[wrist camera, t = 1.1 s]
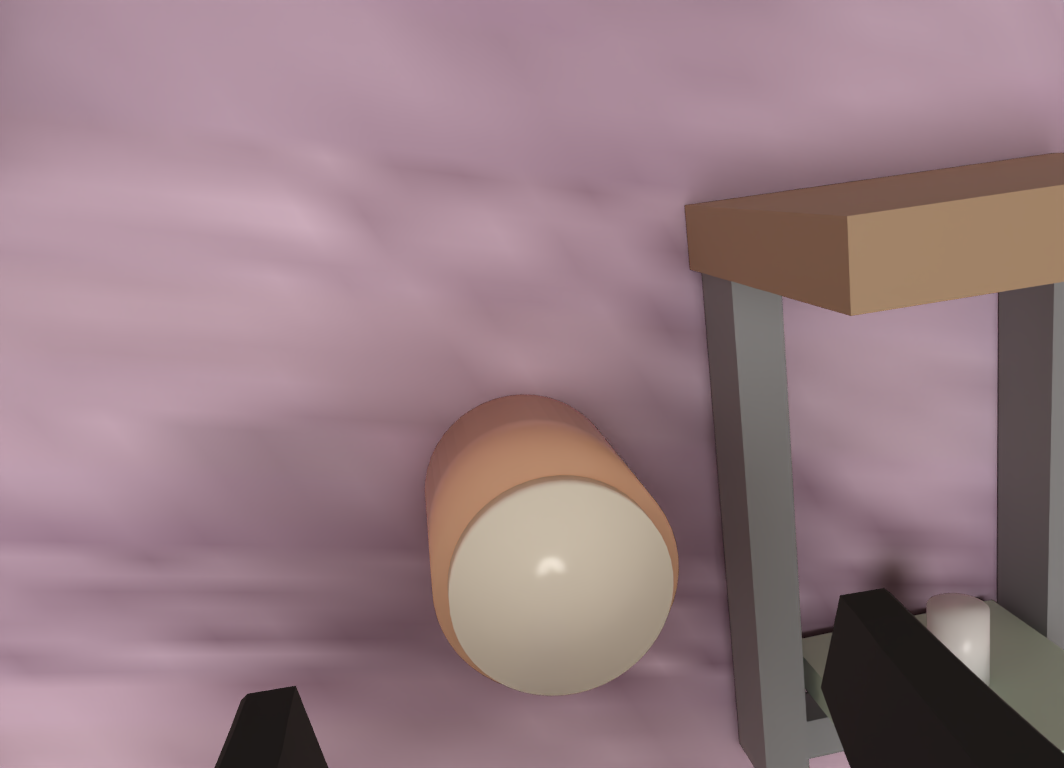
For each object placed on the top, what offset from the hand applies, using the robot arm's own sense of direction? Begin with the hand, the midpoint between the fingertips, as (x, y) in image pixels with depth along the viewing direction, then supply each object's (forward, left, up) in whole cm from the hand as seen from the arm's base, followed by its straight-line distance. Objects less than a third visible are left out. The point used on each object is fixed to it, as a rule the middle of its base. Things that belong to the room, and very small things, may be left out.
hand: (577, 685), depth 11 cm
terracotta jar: (-1, -1, -11) cm, 11 cm away
